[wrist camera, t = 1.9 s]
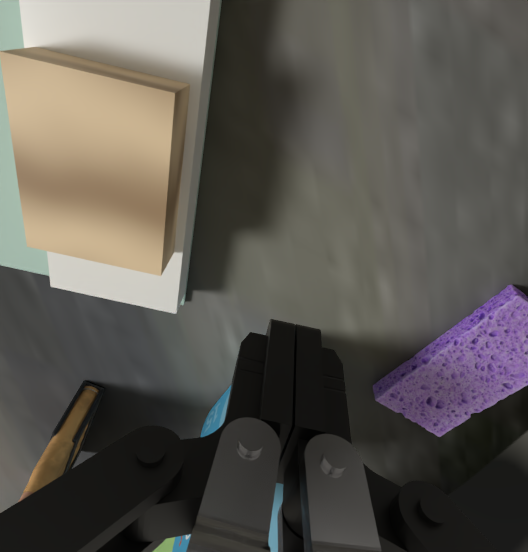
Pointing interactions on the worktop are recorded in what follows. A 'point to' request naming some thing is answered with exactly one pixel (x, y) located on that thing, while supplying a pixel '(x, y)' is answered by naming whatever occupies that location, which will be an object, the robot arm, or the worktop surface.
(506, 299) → the sponges
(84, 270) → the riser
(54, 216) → the coaster
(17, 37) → the mat
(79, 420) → the ammunition clip
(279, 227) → the worktop surface
